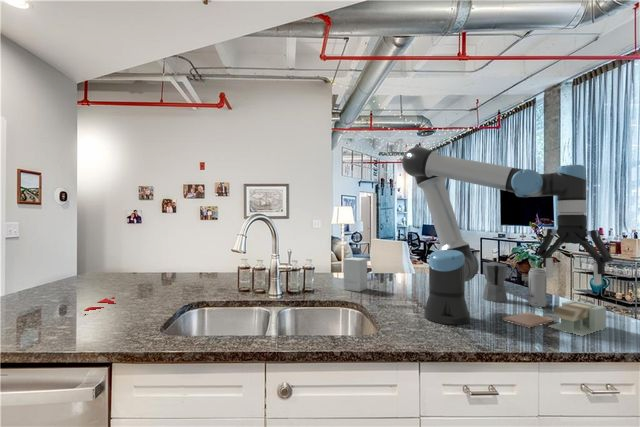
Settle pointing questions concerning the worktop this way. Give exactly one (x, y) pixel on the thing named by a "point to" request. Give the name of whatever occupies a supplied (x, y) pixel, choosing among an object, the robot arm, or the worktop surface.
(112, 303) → the cloth
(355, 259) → the supplement box
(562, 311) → the beech bar
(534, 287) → the energy drink can
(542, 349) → the worktop surface
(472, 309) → the worktop surface
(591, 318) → the pocket block
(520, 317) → the terracotta tile
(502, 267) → the coffeepot
